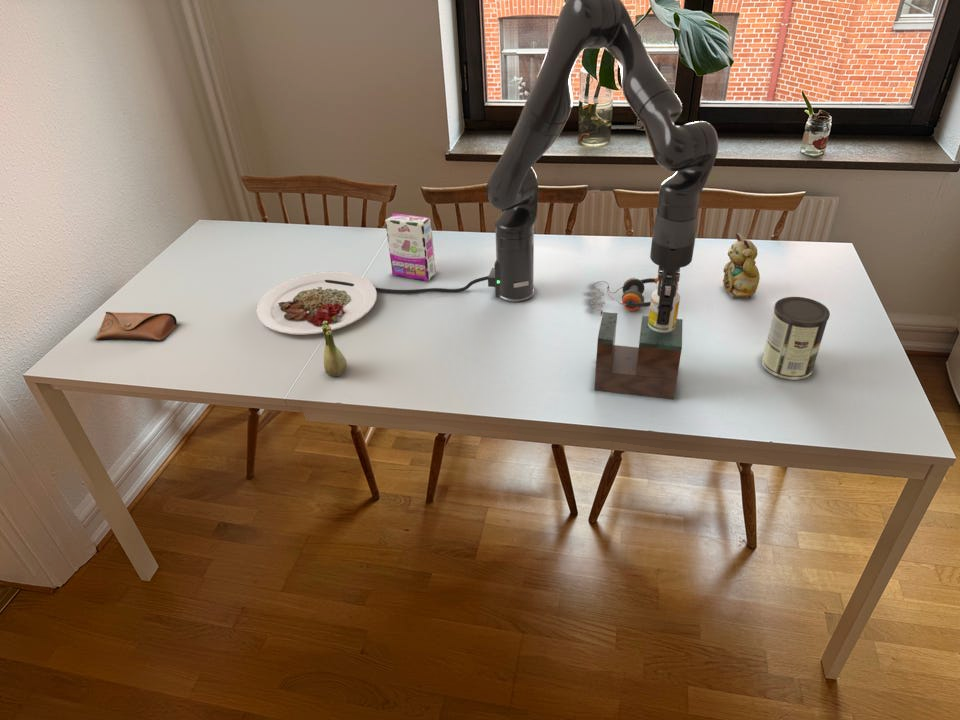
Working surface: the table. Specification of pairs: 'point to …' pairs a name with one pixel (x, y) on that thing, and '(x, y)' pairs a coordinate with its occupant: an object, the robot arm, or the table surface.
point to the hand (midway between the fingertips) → (663, 315)
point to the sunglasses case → (136, 326)
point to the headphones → (627, 294)
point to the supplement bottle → (654, 313)
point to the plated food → (316, 303)
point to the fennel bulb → (332, 354)
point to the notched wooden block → (638, 360)
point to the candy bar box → (411, 246)
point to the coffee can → (794, 337)
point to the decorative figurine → (741, 269)
